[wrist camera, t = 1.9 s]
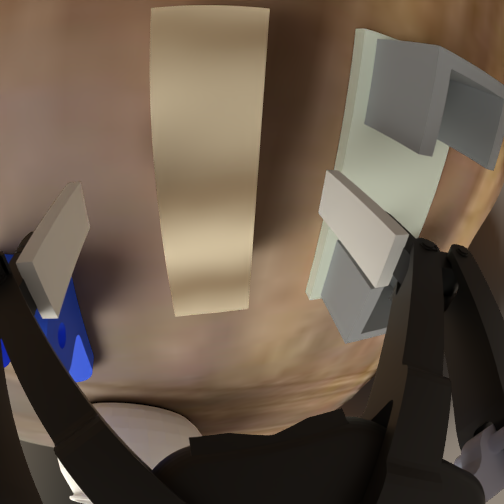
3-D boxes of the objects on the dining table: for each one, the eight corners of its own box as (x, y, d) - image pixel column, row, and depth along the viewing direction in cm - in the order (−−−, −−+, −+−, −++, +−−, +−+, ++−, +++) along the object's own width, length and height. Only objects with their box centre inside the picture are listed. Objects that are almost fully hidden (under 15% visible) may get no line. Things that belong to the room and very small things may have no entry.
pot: (177, 449, 55) (187, 511, 43) (62, 433, 44) (62, 501, 31) (232, 400, 42) (255, 496, 30) (55, 372, 30) (47, 487, 18)
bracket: (-7, 252, 19) (-47, 328, 12) (68, 256, 21) (39, 344, 14) (42, 364, 29) (32, 426, 22) (99, 370, 31) (96, 436, 24)
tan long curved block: (160, 23, 13) (151, 8, 8) (243, 22, 14) (269, 8, 9) (173, 260, 24) (175, 316, 19) (233, 255, 25) (248, 308, 20)
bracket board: (355, 28, 15) (427, 31, 9) (455, 68, 17) (519, 90, 12) (305, 291, 29) (332, 349, 24) (391, 279, 32) (423, 324, 26)
